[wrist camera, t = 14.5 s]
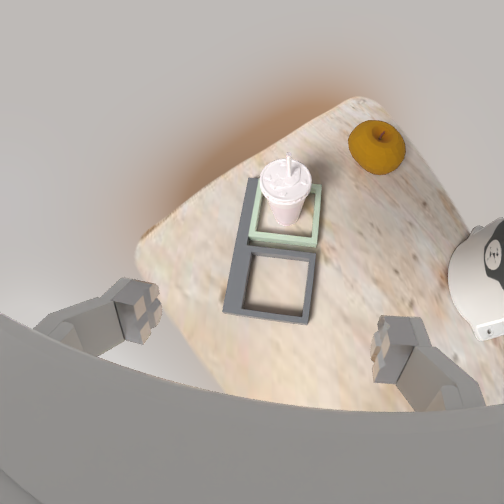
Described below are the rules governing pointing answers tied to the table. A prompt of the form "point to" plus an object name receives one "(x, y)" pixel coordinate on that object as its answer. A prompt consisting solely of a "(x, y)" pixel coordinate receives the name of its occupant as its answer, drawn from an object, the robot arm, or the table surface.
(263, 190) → the smoothie
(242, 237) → the rail
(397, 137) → the apple
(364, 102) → the table surface
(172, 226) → the table surface
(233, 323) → the table surface
